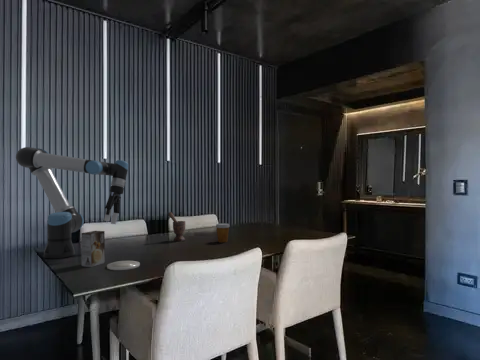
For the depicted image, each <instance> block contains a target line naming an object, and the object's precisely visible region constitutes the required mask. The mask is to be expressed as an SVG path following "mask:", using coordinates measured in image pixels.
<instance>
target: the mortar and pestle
mask: <svg viewBox="0 0 480 360" xmlns="http://www.w3.org/2000/svg"><path fill="white" fill-rule="evenodd" d="M167 214H168V217H169V218H170V219H171V220H172V221H173V222H172V229H173V233H174V234H175V237H174V239H173V241H174V242H183V241H186V238H185V237H184V233H185V231H186V221H185V220H177V219H176V217H175V215H174V213H173V212H172V211H169V212H168V213H167Z"/></svg>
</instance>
